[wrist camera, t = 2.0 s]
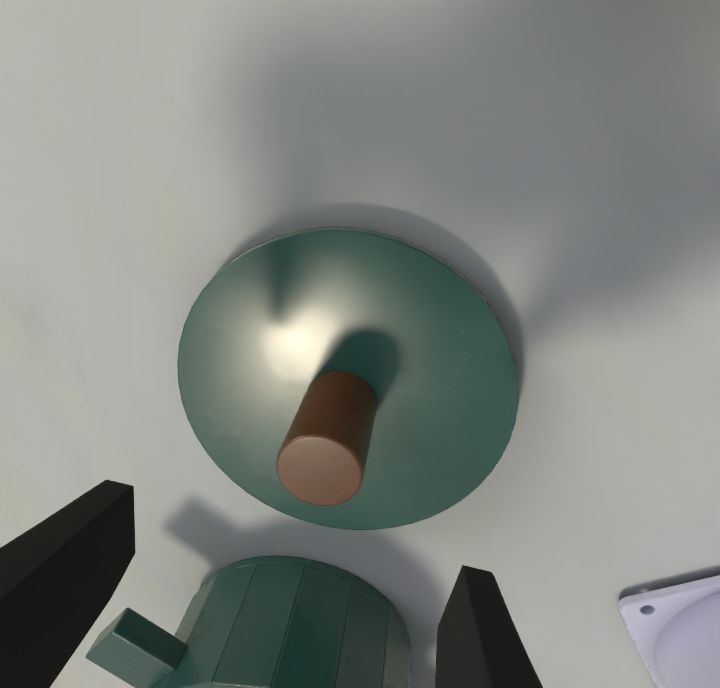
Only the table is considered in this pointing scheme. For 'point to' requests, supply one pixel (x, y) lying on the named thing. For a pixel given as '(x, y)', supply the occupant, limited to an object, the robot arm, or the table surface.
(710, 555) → the table surface
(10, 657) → the robot arm
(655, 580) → the table surface
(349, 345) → the green pot lid
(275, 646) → the green cooking pot
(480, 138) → the table surface
